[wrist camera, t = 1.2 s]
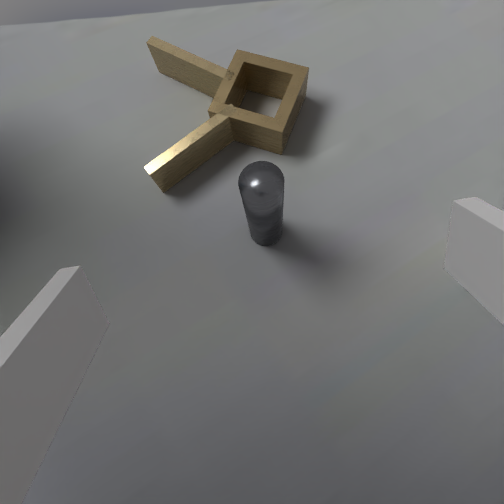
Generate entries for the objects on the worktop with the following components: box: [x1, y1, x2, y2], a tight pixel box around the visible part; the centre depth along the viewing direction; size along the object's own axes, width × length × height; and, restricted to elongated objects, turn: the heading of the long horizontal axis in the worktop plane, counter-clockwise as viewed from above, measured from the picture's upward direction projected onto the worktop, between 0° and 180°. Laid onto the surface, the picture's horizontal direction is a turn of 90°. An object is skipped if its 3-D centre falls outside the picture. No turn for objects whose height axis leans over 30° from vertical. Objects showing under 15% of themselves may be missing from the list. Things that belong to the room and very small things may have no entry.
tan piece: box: [144, 36, 309, 193], centre depth 39 cm, size 20×18×4 cm
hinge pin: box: [238, 161, 284, 246], centre depth 32 cm, size 4×4×12 cm
